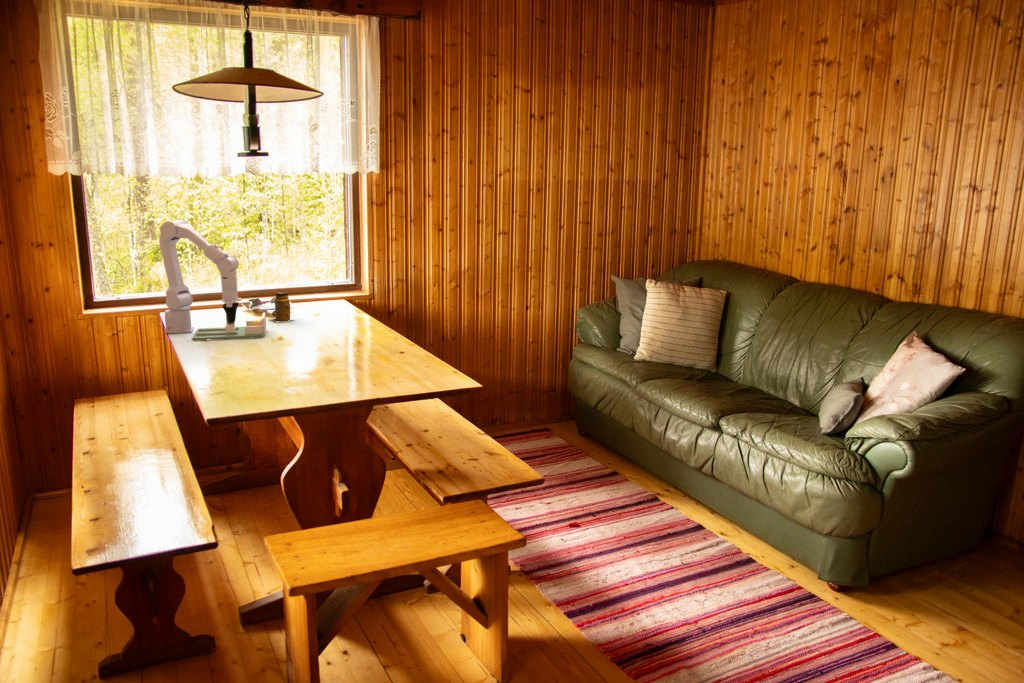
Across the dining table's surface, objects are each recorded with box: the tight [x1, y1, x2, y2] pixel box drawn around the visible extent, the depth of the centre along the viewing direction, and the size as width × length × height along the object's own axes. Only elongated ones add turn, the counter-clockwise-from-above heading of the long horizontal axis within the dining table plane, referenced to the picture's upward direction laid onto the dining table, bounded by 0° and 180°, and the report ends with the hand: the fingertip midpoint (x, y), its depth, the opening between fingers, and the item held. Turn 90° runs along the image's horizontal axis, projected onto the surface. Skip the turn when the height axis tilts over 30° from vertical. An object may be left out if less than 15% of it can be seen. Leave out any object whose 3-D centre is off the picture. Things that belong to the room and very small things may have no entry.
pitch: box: [191, 326, 265, 341], centre depth 321 cm, size 26×18×2 cm
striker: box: [225, 314, 236, 332], centre depth 321 cm, size 3×6×7 cm, turn 15°
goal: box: [244, 312, 267, 335], centre depth 323 cm, size 8×12×6 cm, turn 15°
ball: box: [252, 321, 262, 326], centre depth 324 cm, size 4×4×4 cm
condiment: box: [268, 291, 291, 323], centre depth 348 cm, size 7×8×12 cm
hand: (231, 321), depth 321 cm, fingers closed on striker, 3 cm apart
